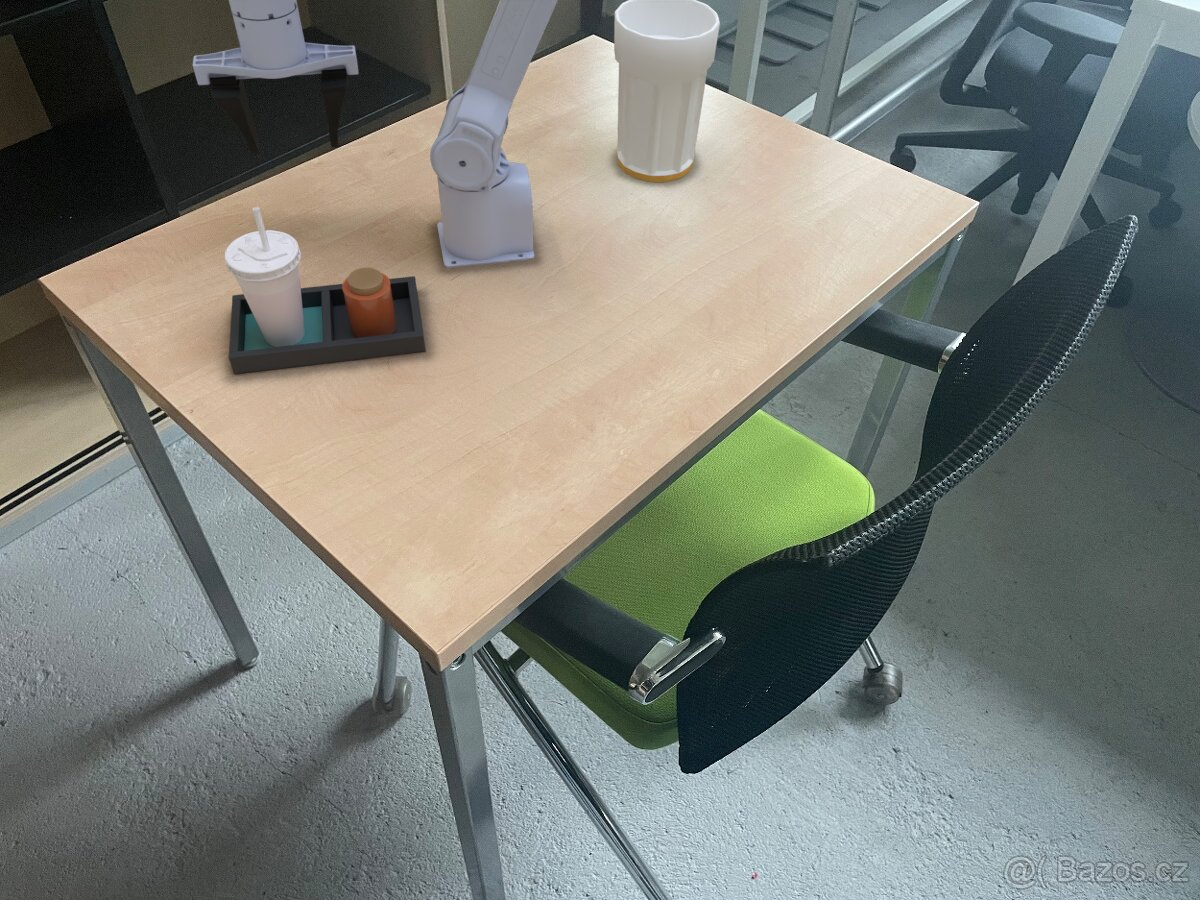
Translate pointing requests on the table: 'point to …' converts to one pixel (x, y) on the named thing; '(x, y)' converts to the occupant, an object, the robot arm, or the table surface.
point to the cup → (661, 83)
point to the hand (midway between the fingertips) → (295, 145)
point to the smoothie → (270, 281)
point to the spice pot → (369, 303)
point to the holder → (325, 332)
